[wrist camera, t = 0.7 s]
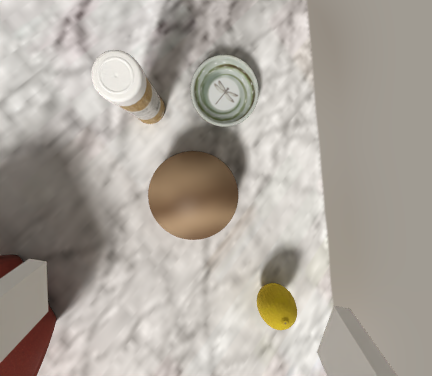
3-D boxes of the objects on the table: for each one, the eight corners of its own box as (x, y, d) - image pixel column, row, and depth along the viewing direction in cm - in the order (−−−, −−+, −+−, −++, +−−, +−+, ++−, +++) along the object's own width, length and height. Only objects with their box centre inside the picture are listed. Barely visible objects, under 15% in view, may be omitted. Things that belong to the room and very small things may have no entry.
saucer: (180, 109, 34) (178, 106, 32) (208, 49, 33) (209, 40, 31) (236, 139, 35) (239, 138, 33) (266, 81, 34) (271, 75, 32)
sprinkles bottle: (139, 88, 33) (97, 40, 20) (169, 99, 34) (147, 58, 20) (130, 119, 34) (83, 91, 20) (160, 129, 34) (133, 108, 21)
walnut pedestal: (150, 157, 35) (141, 156, 30) (228, 148, 35) (233, 146, 30) (162, 233, 36) (155, 245, 31) (237, 223, 37) (242, 233, 32)
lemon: (274, 268, 38) (294, 296, 30) (290, 294, 39) (313, 329, 31) (246, 285, 38) (257, 317, 30) (262, 311, 39) (277, 349, 31)
